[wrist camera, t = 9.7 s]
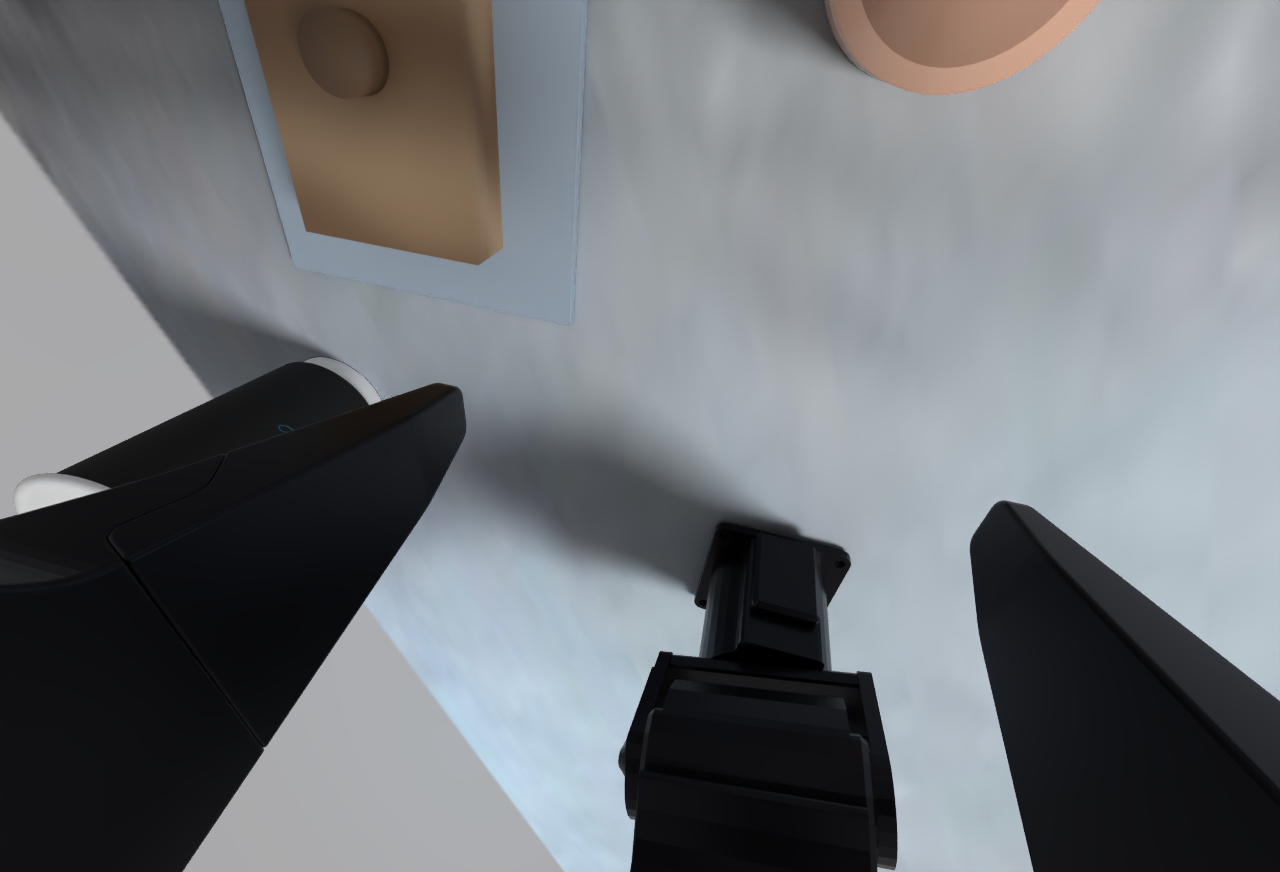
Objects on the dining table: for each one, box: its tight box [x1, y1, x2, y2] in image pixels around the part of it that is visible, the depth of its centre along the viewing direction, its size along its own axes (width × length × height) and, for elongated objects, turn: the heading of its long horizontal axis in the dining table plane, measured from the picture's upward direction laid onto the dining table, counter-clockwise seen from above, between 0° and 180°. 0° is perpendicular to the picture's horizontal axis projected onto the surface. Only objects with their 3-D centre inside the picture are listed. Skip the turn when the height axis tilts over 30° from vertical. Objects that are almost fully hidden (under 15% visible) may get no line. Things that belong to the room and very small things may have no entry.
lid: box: [244, 0, 503, 266], centre depth 15 cm, size 11×6×3 cm, turn 173°
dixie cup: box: [13, 357, 381, 515], centre depth 23 cm, size 8×8×11 cm
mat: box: [218, 0, 588, 326], centre depth 17 cm, size 16×12×1 cm
